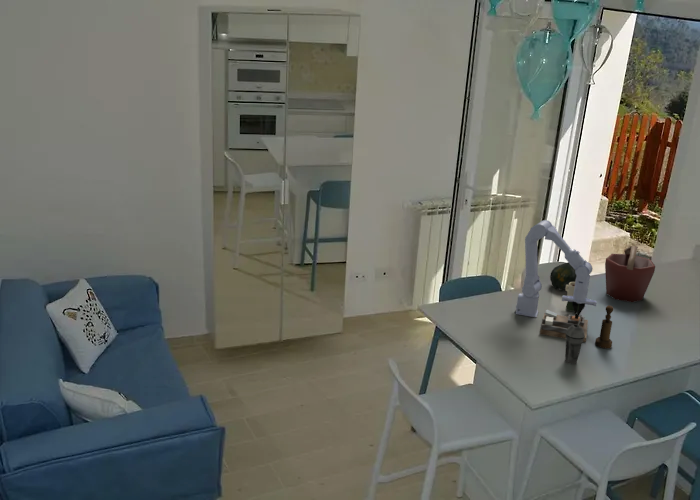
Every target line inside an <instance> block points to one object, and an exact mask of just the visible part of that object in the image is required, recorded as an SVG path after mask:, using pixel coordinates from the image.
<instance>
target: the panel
mask: <svg viewBox="0 0 700 500" xmlns="http://www.w3.org/2000/svg"><path fill="white" fill-rule="evenodd" d="M546 316H548V315H545V312H544V314H543V316H542V319H541V320H542V321H541V324H540V329H539V335H542V336H543V335H544V336H548V337H549V336H550V337H555V338H559V339H560V338H561V339H565V340H566V331H567V329H568V328H569V327H570V326H572V325H578V322H579V321H574V320H571V319H572V316H575V314H574V315H573V314H568V316H566V315H561V314H557V317H556V318H553V325H552V326H550V325H545V321H546ZM548 317H551V316H548ZM579 317H580V315H579ZM585 318H586V317H585V316H582V317H581V322H580V324H579V326H580V327H582V329H583V330H584V334H585V338H584V340H583V342H582V343H586V342H587V337H588V336H587V335H588V326H589V325H588V323H589V320H588V319H585Z"/></svg>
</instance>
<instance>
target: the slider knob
mask: <svg viewBox="0 0 700 500" xmlns="http://www.w3.org/2000/svg"><path fill="white" fill-rule="evenodd" d="M553 318H554V317H548V316H546V321H545V325H550V326H552V325H553Z"/></svg>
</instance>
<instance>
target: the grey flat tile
mask: <svg viewBox="0 0 700 500" xmlns="http://www.w3.org/2000/svg"><path fill="white" fill-rule="evenodd" d="M544 313H545V315H548V316H551V317H554V318H556V317H557V315H558V313H557V312H554V311H552V310H549V309H546V310H545V311H544Z"/></svg>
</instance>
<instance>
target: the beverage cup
mask: <svg viewBox="0 0 700 500" xmlns="http://www.w3.org/2000/svg"><path fill="white" fill-rule="evenodd" d="M579 316H580V319H579V322H578V325H572V326H570V327H569V328H568V329H567V331H566V339H565V353H564V358H565V359H564V361H565V362H566V363H567V364H570V365H576V364H577V363H578V360H579V356H580V352H581V350H582V349H581V348H582V345H583V343H584V342H583V340H584V338H585V334H584V330H583V329H582V327H580V326H579V324H580V320H581V317H583V316H582V314H580V315H579Z"/></svg>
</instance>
